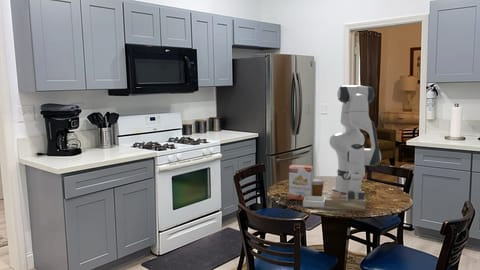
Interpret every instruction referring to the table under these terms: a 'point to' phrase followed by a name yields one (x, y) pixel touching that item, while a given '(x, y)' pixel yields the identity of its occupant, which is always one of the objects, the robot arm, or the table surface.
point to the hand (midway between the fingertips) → (356, 196)
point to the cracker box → (300, 181)
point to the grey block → (352, 195)
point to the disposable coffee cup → (317, 186)
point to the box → (314, 201)
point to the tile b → (336, 196)
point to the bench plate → (344, 203)
